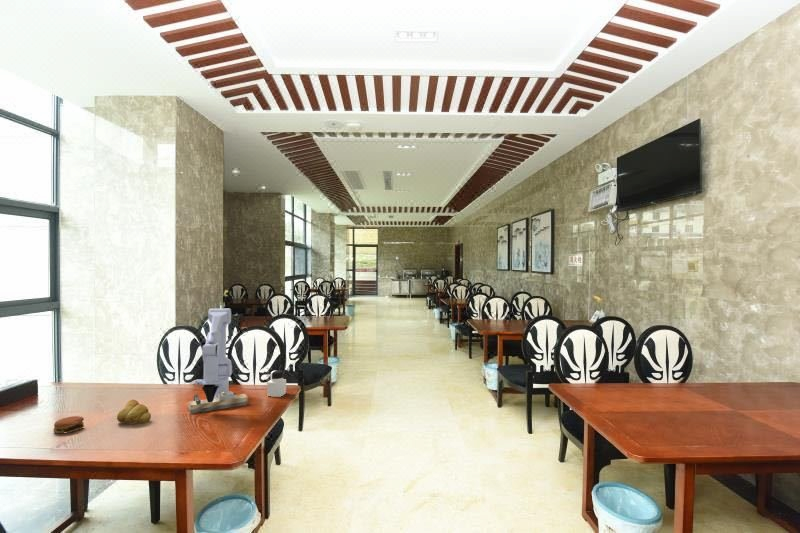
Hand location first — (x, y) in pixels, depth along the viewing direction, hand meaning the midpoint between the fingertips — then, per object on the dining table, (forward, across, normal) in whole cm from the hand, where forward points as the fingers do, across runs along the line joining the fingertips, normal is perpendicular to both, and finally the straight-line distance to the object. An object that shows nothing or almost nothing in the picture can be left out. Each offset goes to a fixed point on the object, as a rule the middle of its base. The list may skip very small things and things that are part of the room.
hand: (210, 401), depth 186 cm
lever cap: (+1, +2, +9) cm, 9 cm away
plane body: (+4, -1, +7) cm, 8 cm away
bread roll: (+5, -22, -18) cm, 29 cm away
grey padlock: (+5, +16, +30) cm, 34 cm away
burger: (+5, -40, -31) cm, 50 cm away
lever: (+4, -7, 0) cm, 8 cm away
